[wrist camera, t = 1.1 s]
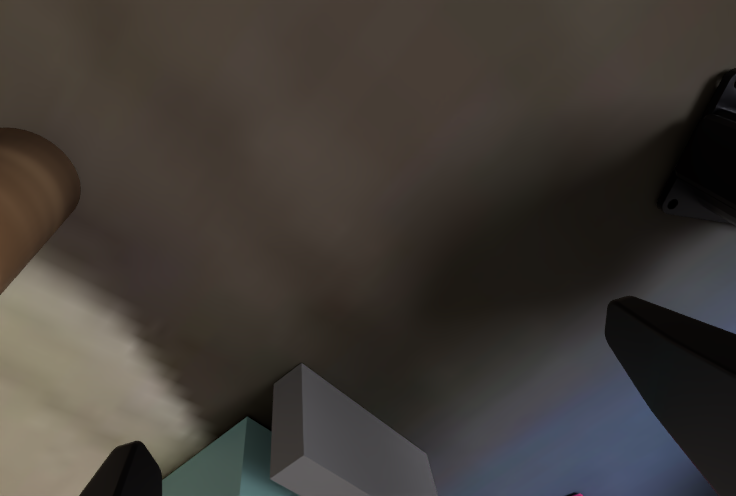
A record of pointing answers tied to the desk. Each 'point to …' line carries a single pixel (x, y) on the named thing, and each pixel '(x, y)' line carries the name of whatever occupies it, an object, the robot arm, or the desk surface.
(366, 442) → the charcoal wall
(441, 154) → the desk surface
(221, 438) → the teal block
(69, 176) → the walnut dowel
